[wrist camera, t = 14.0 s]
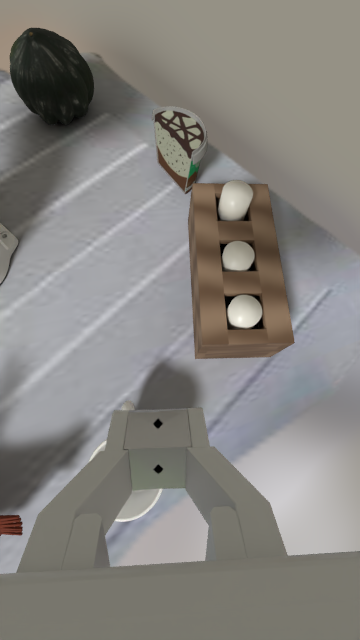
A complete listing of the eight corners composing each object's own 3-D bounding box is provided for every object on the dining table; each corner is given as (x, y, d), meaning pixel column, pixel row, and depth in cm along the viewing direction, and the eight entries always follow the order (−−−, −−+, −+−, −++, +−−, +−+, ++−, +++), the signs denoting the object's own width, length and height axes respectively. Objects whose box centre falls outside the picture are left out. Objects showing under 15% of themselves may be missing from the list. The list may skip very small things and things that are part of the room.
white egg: (253, 336, 42) (264, 325, 37) (223, 336, 41) (230, 326, 37) (249, 308, 43) (259, 294, 38) (220, 308, 43) (227, 294, 38)
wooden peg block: (270, 357, 45) (294, 342, 37) (195, 358, 44) (202, 344, 36) (251, 221, 54) (267, 184, 45) (188, 221, 53) (192, 183, 44)
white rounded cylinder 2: (246, 283, 44) (256, 267, 40) (218, 284, 44) (225, 267, 39) (243, 259, 46) (252, 240, 41) (216, 259, 46) (222, 240, 41)
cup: (104, 499, 38) (84, 526, 28) (104, 405, 42) (86, 401, 32) (167, 491, 38) (167, 516, 29) (160, 400, 42) (159, 394, 33)
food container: (214, 185, 56) (224, 138, 47) (189, 199, 55) (194, 153, 45) (178, 146, 59) (180, 94, 50) (153, 158, 58) (151, 107, 48)
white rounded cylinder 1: (245, 227, 45) (254, 204, 40) (217, 227, 44) (223, 204, 40) (242, 204, 46) (251, 180, 41) (215, 204, 46) (221, 179, 41)
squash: (66, 42, 60) (-1, -16, 46) (118, 79, 58) (63, 30, 44) (44, 112, 66) (-22, 79, 52) (90, 148, 64) (34, 123, 50)
